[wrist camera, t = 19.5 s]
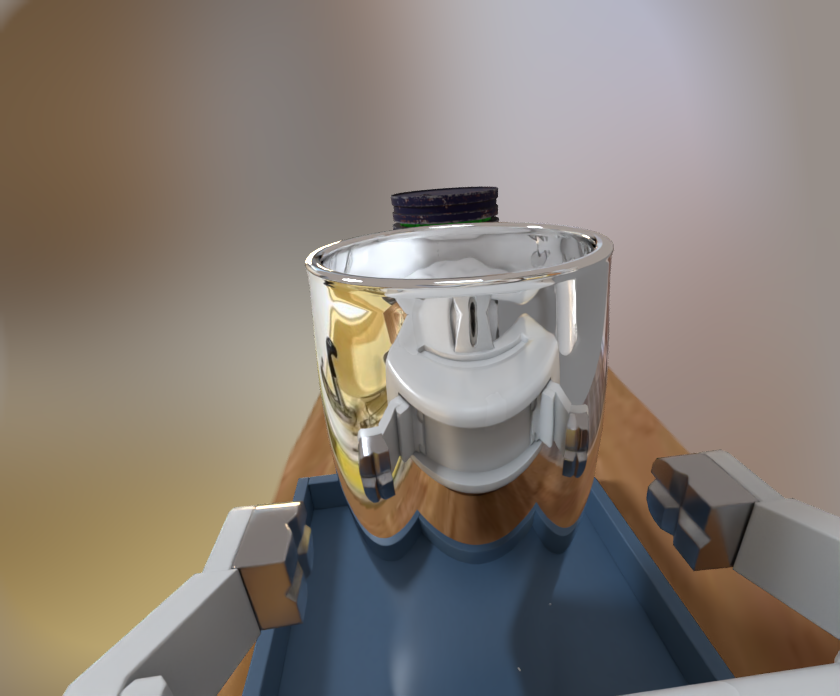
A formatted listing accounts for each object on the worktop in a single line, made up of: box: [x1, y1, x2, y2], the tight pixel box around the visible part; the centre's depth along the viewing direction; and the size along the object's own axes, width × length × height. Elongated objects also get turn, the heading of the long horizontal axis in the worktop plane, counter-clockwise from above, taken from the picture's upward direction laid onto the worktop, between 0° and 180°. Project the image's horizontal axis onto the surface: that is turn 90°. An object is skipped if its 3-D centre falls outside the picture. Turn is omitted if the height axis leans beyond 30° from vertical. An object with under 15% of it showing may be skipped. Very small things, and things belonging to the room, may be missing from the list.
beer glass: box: [305, 222, 614, 696], centre depth 12 cm, size 7×7×15 cm
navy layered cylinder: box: [391, 187, 499, 230], centre depth 40 cm, size 10×10×15 cm
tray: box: [242, 474, 735, 696], centre depth 15 cm, size 15×17×2 cm
